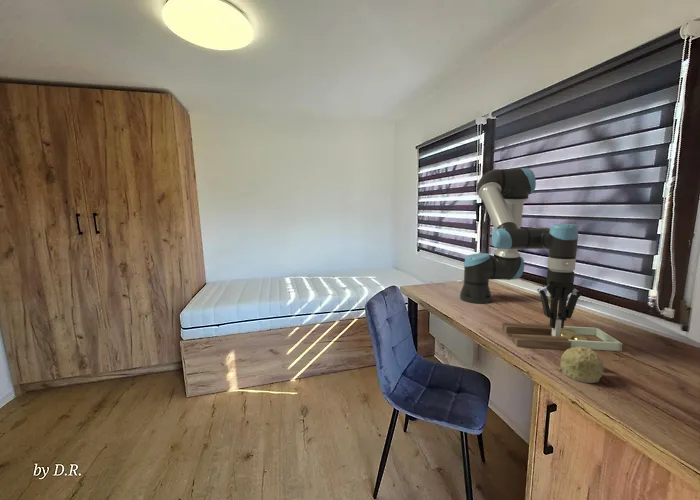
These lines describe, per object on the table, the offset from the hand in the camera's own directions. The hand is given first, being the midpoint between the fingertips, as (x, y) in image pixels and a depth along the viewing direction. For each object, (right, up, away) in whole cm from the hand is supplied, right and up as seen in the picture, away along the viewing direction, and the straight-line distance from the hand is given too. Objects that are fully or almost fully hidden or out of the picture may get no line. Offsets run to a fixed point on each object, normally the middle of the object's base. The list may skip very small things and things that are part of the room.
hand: (555, 336), depth 103 cm
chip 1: (+5, -1, +2) cm, 6 cm away
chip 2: (+3, -1, -1) cm, 3 cm away
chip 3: (+6, -2, -3) cm, 7 cm away
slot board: (-7, -2, +2) cm, 7 cm away
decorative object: (-7, -5, -20) cm, 21 cm away
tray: (+8, -2, -1) cm, 9 cm away
